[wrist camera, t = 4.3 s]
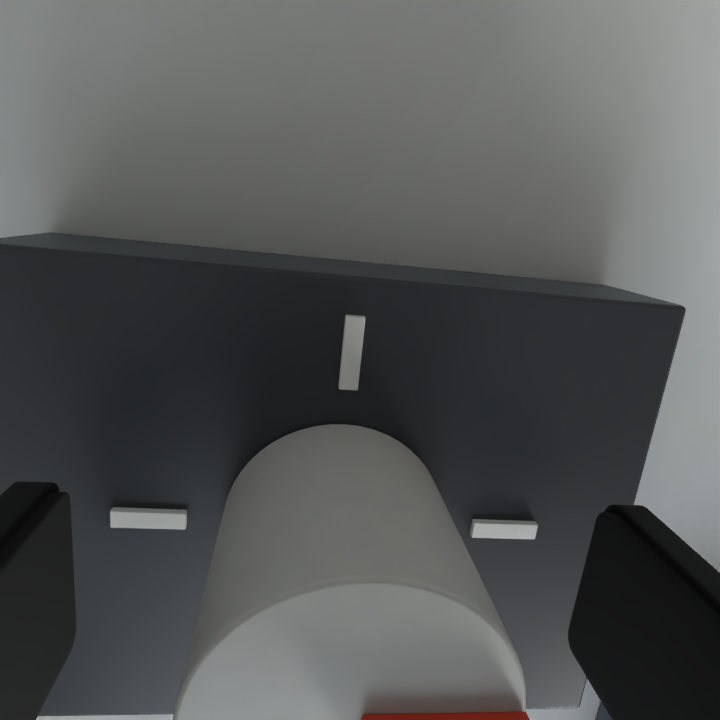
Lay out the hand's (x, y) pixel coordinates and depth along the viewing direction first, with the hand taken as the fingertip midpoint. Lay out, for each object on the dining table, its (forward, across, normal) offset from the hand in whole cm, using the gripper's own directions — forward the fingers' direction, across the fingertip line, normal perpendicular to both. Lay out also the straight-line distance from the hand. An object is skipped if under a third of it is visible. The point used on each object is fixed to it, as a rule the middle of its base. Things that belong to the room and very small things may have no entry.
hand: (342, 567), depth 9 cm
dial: (+2, 0, 0) cm, 2 cm away
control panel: (+5, 0, 0) cm, 5 cm away
